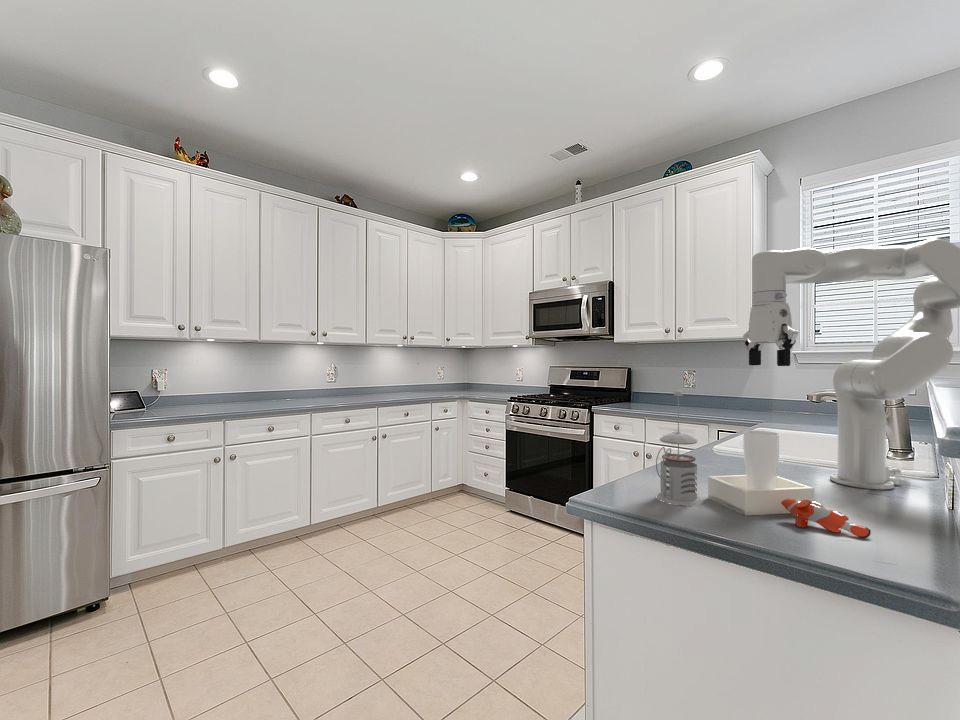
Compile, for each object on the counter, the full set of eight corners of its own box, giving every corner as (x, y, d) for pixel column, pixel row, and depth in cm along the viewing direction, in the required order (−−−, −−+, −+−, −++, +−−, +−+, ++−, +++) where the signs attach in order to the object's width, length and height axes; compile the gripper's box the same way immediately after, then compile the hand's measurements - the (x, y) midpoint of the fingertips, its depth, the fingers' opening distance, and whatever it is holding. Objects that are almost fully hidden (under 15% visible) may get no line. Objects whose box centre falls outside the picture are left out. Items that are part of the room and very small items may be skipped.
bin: (770, 494, 108) (770, 473, 108) (814, 511, 96) (814, 488, 96) (708, 497, 106) (708, 476, 106) (745, 515, 94) (745, 491, 94)
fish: (773, 495, 92) (805, 491, 94) (773, 519, 92) (805, 514, 95) (840, 517, 80) (875, 511, 82) (840, 544, 80) (875, 538, 82)
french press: (711, 501, 104) (711, 391, 103) (678, 510, 98) (678, 393, 98) (673, 490, 112) (673, 388, 112) (641, 498, 106) (641, 390, 106)
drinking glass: (787, 504, 98) (787, 434, 98) (759, 506, 97) (759, 435, 97) (762, 495, 105) (762, 429, 105) (736, 496, 104) (736, 430, 103)
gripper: (810, 295, 111) (810, 366, 111) (757, 303, 128) (757, 364, 128) (782, 295, 110) (782, 366, 110) (732, 303, 127) (732, 365, 127)
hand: (768, 365), depth 119 cm, fingers open, 9 cm apart
